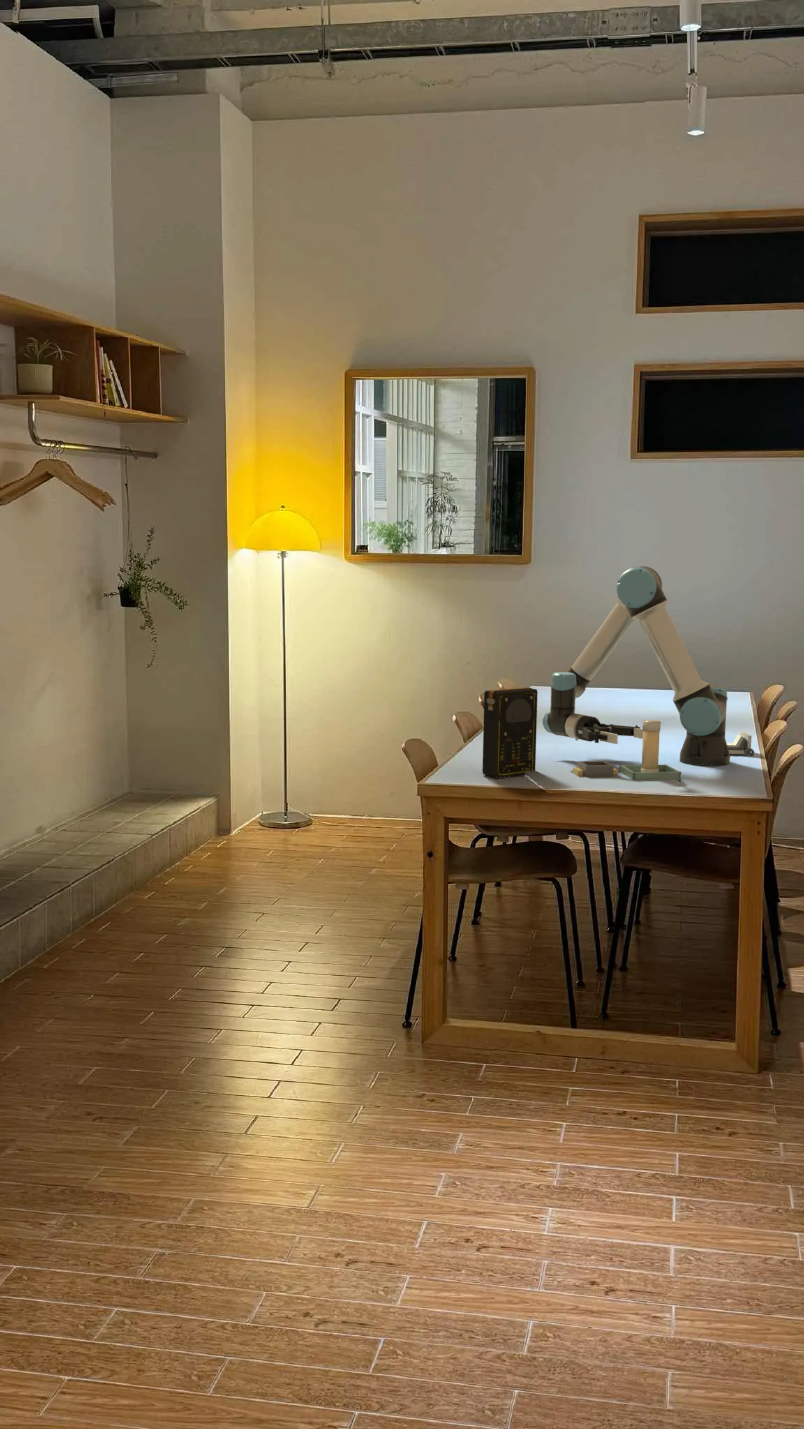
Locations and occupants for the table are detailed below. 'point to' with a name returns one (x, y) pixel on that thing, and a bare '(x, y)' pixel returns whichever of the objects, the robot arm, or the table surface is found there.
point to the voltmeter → (509, 732)
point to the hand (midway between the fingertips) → (633, 737)
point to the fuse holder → (595, 769)
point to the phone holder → (741, 745)
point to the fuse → (650, 746)
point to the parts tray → (650, 773)
